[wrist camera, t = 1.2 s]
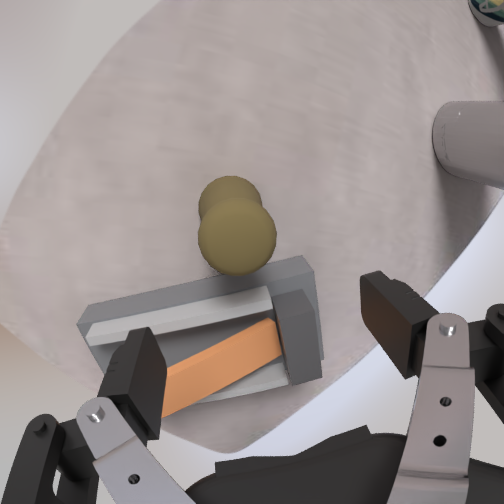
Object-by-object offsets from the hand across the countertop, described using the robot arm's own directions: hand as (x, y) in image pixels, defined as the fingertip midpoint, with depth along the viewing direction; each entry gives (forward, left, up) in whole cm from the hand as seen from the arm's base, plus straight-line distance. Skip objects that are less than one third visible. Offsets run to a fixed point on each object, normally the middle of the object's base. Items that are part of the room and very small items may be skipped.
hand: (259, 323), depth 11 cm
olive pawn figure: (0, 0, -20) cm, 20 cm away
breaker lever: (+7, +12, -12) cm, 18 cm away
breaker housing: (+6, +12, -20) cm, 24 cm away
